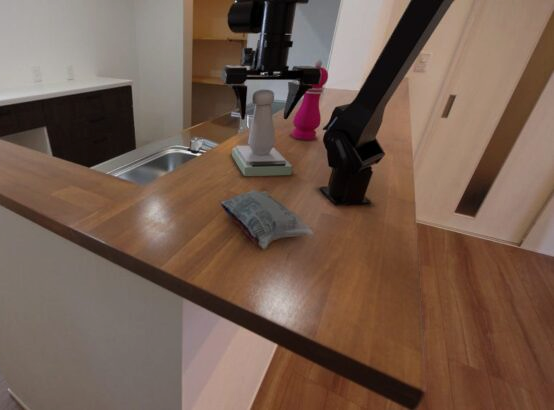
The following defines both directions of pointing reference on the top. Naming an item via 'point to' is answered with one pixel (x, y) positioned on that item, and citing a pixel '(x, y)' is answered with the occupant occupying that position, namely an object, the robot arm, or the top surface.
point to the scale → (260, 162)
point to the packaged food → (264, 218)
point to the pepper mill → (310, 109)
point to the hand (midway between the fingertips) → (264, 119)
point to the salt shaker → (262, 123)
